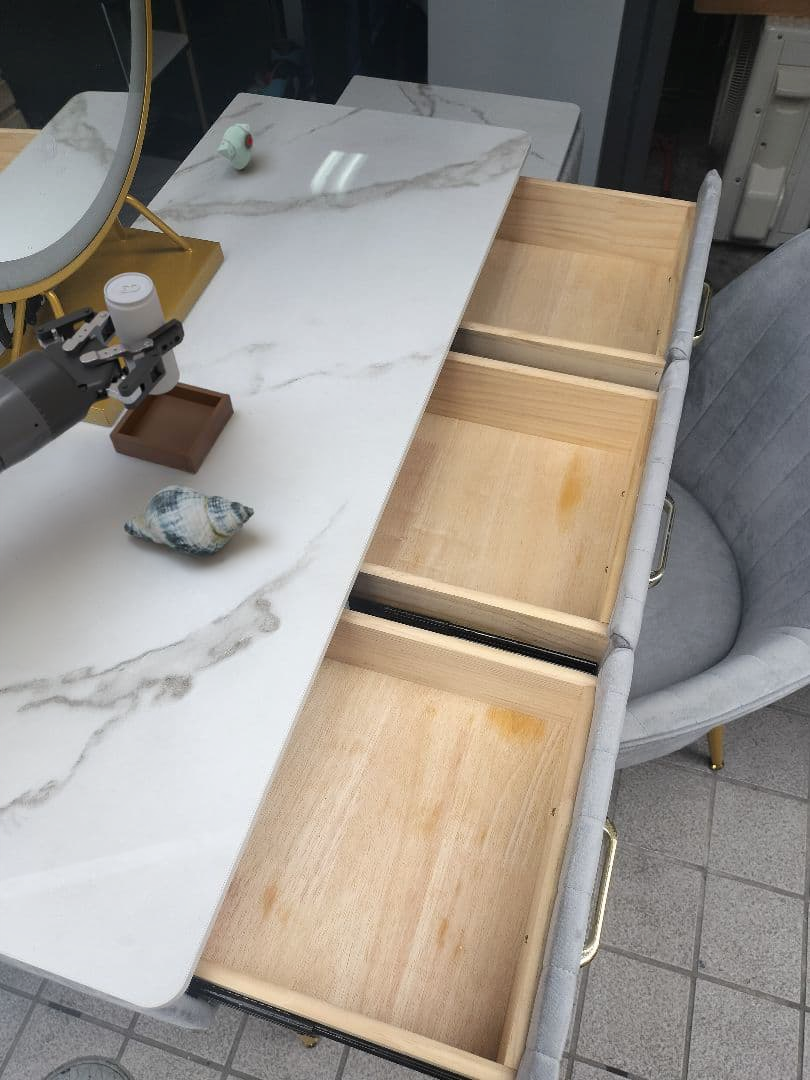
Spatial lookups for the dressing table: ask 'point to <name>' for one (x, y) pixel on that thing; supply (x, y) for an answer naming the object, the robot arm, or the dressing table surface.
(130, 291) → the beverage can
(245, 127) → the robot head
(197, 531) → the seashell
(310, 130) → the dressing table surface
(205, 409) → the tray
